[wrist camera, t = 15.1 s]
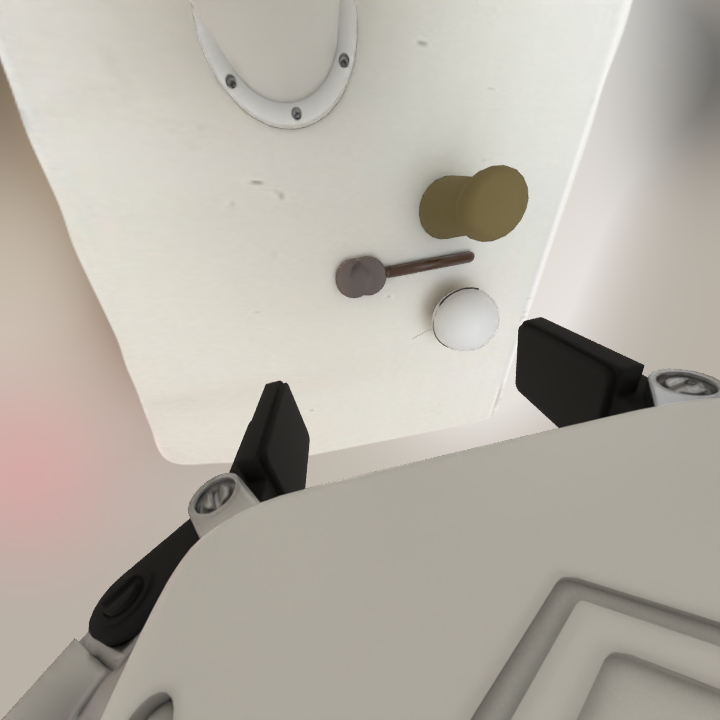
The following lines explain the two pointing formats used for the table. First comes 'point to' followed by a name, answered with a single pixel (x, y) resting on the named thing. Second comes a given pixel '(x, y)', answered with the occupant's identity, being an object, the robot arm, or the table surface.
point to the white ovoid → (465, 319)
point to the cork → (475, 204)
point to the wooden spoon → (386, 272)
